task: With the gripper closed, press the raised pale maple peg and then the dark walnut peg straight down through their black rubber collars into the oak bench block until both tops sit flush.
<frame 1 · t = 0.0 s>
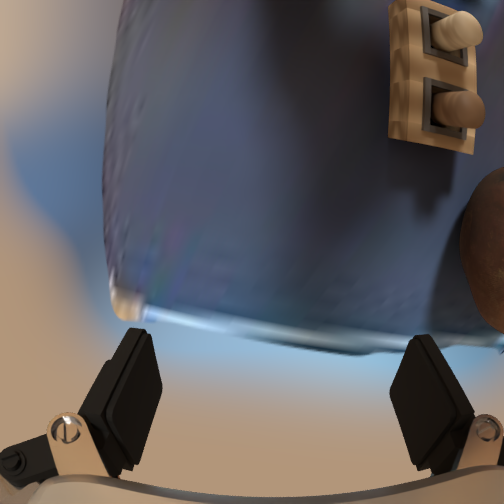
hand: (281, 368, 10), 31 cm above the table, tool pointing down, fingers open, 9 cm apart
pottery: (489, 224, 39), on the table
walnut peg: (455, 109, 26), point 8 cm above the table, slide at 5.0 cm
oak block: (423, 76, 32), on the table
maple peg: (453, 33, 22), point 8 cm above the table, slide at 5.0 cm
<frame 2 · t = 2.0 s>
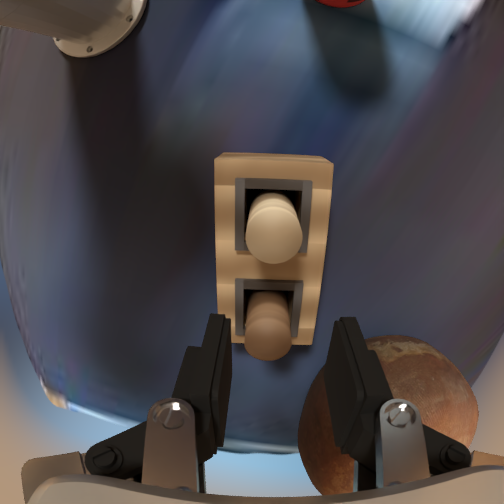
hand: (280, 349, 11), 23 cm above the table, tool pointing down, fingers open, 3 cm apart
pottery: (369, 369, 42), on the table
walnut peg: (267, 321, 29), point 8 cm above the table, slide at 5.0 cm
oak block: (269, 240, 35), on the table
maple peg: (273, 223, 25), point 8 cm above the table, slide at 5.0 cm
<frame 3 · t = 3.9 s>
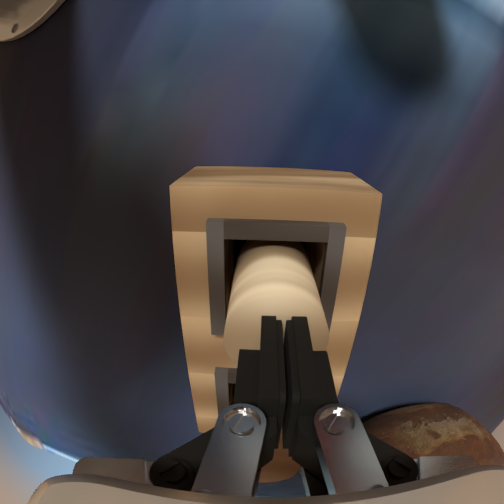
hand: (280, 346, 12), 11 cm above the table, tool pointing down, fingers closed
pottery: (388, 430, 31), on the table
walnut peg: (264, 427, 18), point 8 cm above the table, slide at 5.0 cm
oak block: (267, 297, 23), on the table
maple peg: (274, 296, 14), point 7 cm above the table, slide at 4.2 cm, touching gripper
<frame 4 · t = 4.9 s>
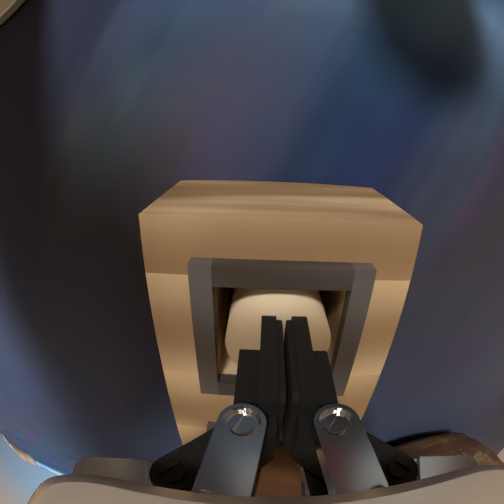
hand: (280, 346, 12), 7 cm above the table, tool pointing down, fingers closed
pottery: (396, 458, 27), on the table
walnut peg: (265, 484, 14), point 8 cm above the table, slide at 5.0 cm
oak block: (269, 333, 19), on the table
maple peg: (275, 298, 15), point 3 cm above the table, slide at 0.0 cm, touching gripper
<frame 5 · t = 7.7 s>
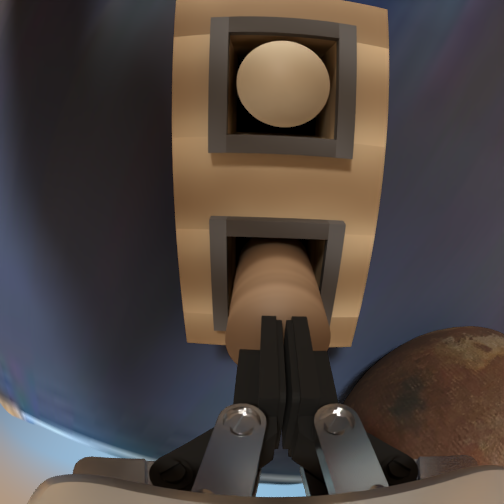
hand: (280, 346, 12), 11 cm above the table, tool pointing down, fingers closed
pottery: (414, 378, 28), on the table
walnut peg: (275, 296, 15), point 8 cm above the table, slide at 4.6 cm, touching gripper
oak block: (274, 167, 20), on the table
maple peg: (279, 90, 15), point 3 cm above the table, slide at 0.0 cm
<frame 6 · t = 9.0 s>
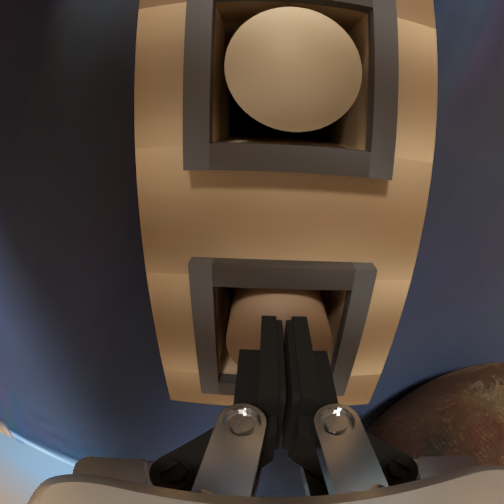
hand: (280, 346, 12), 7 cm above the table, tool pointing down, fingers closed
pottery: (429, 411, 23), on the table
walnut peg: (276, 297, 15), point 3 cm above the table, slide at 0.0 cm, touching gripper
oak block: (278, 181, 16), on the table
maple peg: (286, 80, 11), point 3 cm above the table, slide at 0.0 cm
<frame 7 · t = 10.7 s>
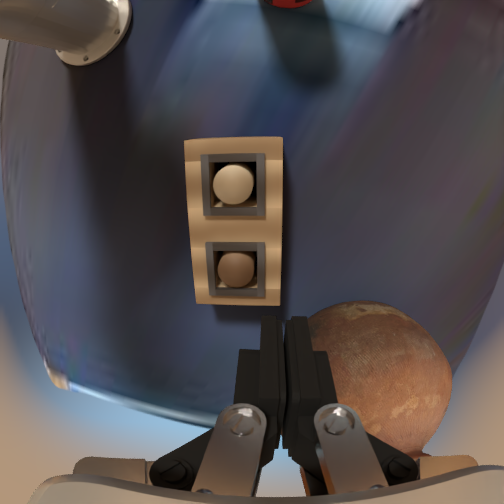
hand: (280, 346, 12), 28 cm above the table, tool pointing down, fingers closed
pottery: (347, 341, 46), on the table
walnut peg: (238, 259, 38), point 3 cm above the table, slide at 0.0 cm
oak block: (240, 213, 39), on the table
maple peg: (236, 180, 34), point 3 cm above the table, slide at 0.0 cm
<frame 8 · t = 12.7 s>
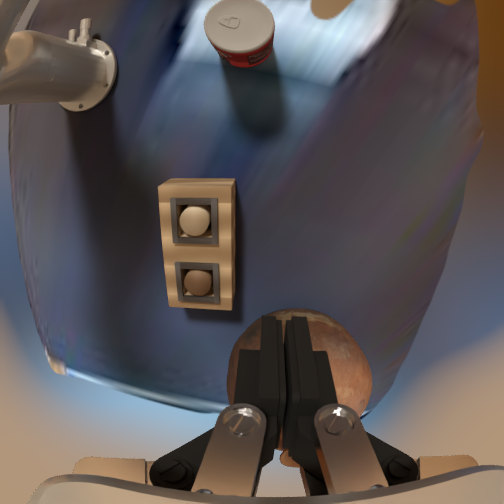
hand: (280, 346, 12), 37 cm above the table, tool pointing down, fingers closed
canned food: (244, 45, 38), on the table
pottery: (294, 339, 58), on the table
walnut peg: (201, 273, 49), point 3 cm above the table, slide at 0.0 cm
oak block: (203, 237, 50), on the table
maple peg: (198, 214, 45), point 3 cm above the table, slide at 0.0 cm
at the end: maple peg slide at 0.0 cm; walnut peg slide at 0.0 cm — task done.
